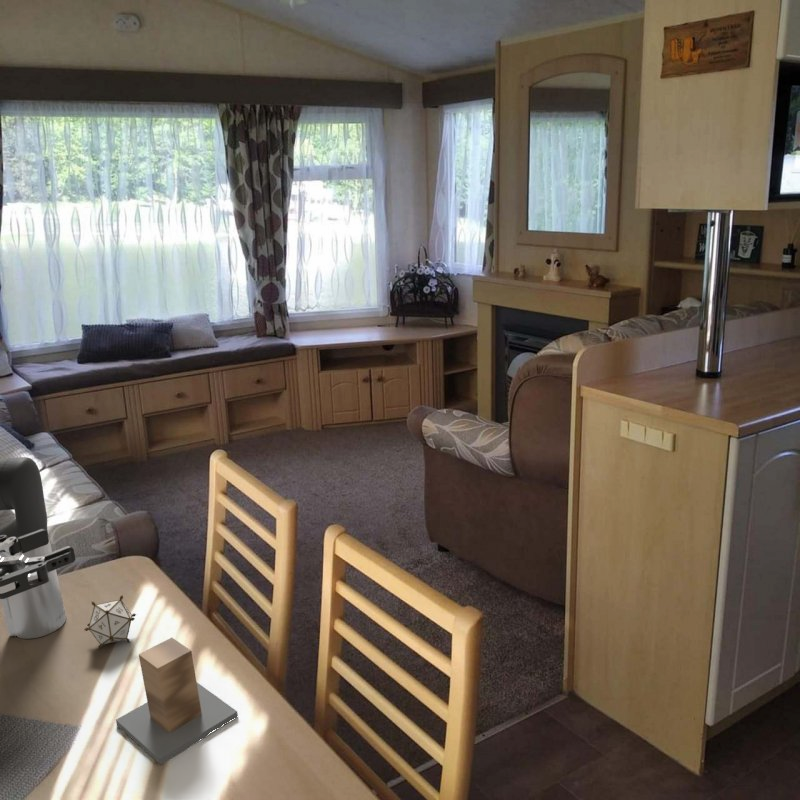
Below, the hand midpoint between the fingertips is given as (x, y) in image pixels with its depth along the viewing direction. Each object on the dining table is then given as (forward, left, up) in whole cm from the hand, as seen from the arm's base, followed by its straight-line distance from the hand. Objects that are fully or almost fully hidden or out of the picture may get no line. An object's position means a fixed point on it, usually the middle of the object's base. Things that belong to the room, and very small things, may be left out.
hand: (59, 544), depth 109 cm
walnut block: (+10, +3, -31) cm, 33 cm away
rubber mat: (+11, +3, -32) cm, 34 cm away
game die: (-5, +27, -32) cm, 42 cm away
